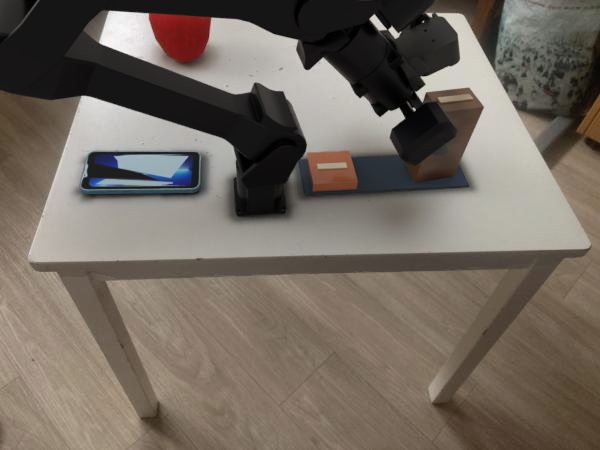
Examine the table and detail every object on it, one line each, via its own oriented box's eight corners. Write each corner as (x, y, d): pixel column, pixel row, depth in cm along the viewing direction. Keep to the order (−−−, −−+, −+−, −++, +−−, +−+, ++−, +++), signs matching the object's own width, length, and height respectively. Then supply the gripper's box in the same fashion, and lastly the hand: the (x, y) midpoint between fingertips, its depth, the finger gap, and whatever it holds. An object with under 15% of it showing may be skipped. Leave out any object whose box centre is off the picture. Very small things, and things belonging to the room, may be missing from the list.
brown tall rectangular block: (414, 182, 67) (440, 111, 57) (403, 162, 69) (426, 90, 59) (453, 176, 68) (485, 105, 58) (441, 157, 70) (469, 85, 61)
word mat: (304, 196, 64) (305, 194, 64) (298, 161, 68) (298, 159, 68) (468, 186, 67) (469, 184, 67) (453, 154, 71) (454, 152, 71)
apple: (225, 59, 83) (221, -4, 74) (177, 79, 78) (167, 14, 70) (192, 34, 87) (185, -29, 78) (144, 52, 82) (131, -13, 74)
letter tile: (312, 191, 64) (313, 183, 63) (306, 160, 68) (306, 151, 67) (356, 189, 65) (358, 180, 64) (347, 158, 69) (349, 149, 67)
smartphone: (199, 189, 63) (77, 190, 61) (200, 194, 63) (79, 196, 61) (201, 150, 67) (88, 150, 65) (201, 155, 68) (89, 155, 66)
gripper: (471, 53, 42) (526, 136, 53) (393, -42, 53) (452, 43, 64) (370, 133, 46) (440, 195, 57) (317, 30, 58) (384, 98, 68)
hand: (429, 127), depth 62 cm, fingers open, 9 cm apart
